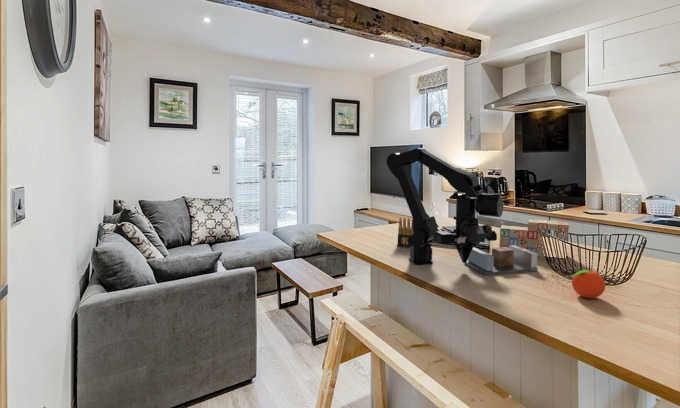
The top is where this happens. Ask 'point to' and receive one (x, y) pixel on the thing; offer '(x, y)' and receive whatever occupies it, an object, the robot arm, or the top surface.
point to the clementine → (588, 283)
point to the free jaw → (481, 259)
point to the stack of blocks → (530, 234)
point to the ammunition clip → (404, 232)
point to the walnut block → (503, 256)
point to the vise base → (521, 263)
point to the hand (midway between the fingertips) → (464, 262)
